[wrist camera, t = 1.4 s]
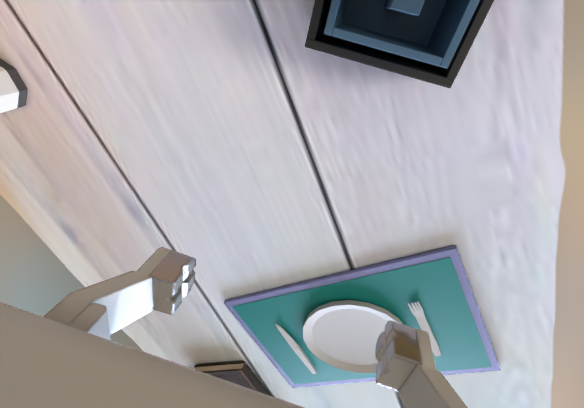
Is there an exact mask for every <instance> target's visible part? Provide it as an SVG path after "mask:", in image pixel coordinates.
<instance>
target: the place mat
mask: <svg viewBox="0 0 584 408" xmlns="http://www.w3.org/2000/svg"><path fill="white" fill-rule="evenodd" d="M224 304H225V305H226V306H227V307H228V309H229V310H230V311H231V312H232V314H233V315H234V316H235V317H236V319H237V320H238V321H239V322H240V323H241V325H242V326H243V327H244V328H245V330H246V331H247V332H248V333H249V335H250V336H251V337H252V338H253V340H254V341H255V342H256V343H257V345H258V346H259V347H260V348H261V349H262V351H263V352H264V353H265V354H266V356H267V357H268V358H269V359H270V361H271V362H272V363H273V364H274V366H275V367H276V368H277V369H278V371H279V372H280V373H281V374H282V375H283V377H284V378H285V379H286V380H287V382H288V383H289V384H290V385H291V387H292V388H296V387H308V386H320V385H332V384H344V383H355V382H367V381H376V366H377V364H378V360H377V359H376V357H375V350H376V343H377V340H378V337H379V335H380V333H382V332H385V325H386V323H387V322H388V321H389V320H391V321H394V322H397V323H400V324H404V325H407V326H410V327H413V328H417V329H420V330H423V331H426V332H428V334H429V337H430V342H431V346H432V351H433V356H434V361H435V366H436V370H437V371H440V372H441V373H442V375H450V374H462V373H474V372H486V371H498V370H500V367H499V364H498V361H497V359H496V356H495V353H494V350H493V348H492V345H491V342H490V339H489V337H488V334H487V331H486V328H485V326H484V323H483V320H482V317H481V314H480V312H479V309H478V306H477V303H476V301H475V298H474V295H473V292H472V290H471V287H470V284H469V281H468V279H467V276H466V273H465V270H464V268H463V265H462V262H461V259H460V257H459V254H458V251H457V248H456V246H450V247H446V248H442V249H438V250H434V251H429V252H425V253H421V254H417V255H413V256H409V257H404V258H400V259H396V260H392V261H388V262H384V263H379V264H375V265H371V266H367V267H363V268H358V269H354V270H350V271H346V272H342V273H338V274H333V275H329V276H325V277H321V278H317V279H313V280H308V281H304V282H300V283H296V284H292V285H287V286H283V287H279V288H275V289H271V290H267V291H262V292H258V293H254V294H250V295H246V296H241V297H237V298H233V299H229V300H225V302H224Z"/></svg>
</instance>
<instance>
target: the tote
mask: <svg viewBox="0 0 584 408" xmlns="http://www.w3.org/2000/svg"><path fill="white" fill-rule="evenodd" d="M493 1H494V0H480V1H479V3H478V5H477V7H476V9H475V12H474V14H473V16H472V18H471V20H470V22H469V24H468V26H467V28H466V30H465V33H464V35H463V37H462V39H461V41H460V43H459V45H458V47H457V49H456V52H455V54H454V56H453V58H452V60H451V62H450V64H449V66H448V68H447V69H446V68H443V67H440V66H436V65H432V64H429V63H425V62H422V61H418V60H415V59H411V58H407V57H404V56H400V55H397V54H393V53H390V52H386V51H383V50H379V49H376V48H372V47H369V46H365V45H362V44H358V43H355V42H351V41H347V40H344V39H340V38H337V37H333V36H332V35H331V36H330V35H326V34H324V30H325V26H326V22H327V18H328V14H329V10H330V6H331V2H332V0H315V4H314V8H313V13H312V17H311V22H310V26H309V30H308V35H307V39H306V44H305V47H307V48H311V49H314V50H318V51H321V52H325V53H328V54H332V55H335V56H339V57H342V58H346V59H349V60H353V61H356V62H360V63H363V64H367V65H370V66H374V67H377V68H381V69H384V70H387V71H391V72H394V73H398V74H401V75H405V76H408V77H412V78H415V79H419V80H422V81H426V82H429V83H433V84H436V85H440V86H443V87H447V88H451V86H452V84H453V82H454V79H455V78H456V76H457V74H458V72H459V70H460V68H461V66H462V64H463V62H464V60H465V58H466V56H467V54H468V52H469V50H470V48H471V45H472V43H473V41H474V39H475V37H476V35H477V33H478V31H479V29H480V27H481V25H482V23H483V21H484V19H485V17H486V15H487V13H488V11H489V9H490V7H491V5H492V3H493Z"/></svg>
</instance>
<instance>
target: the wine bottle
mask: <svg viewBox="0 0 584 408" xmlns="http://www.w3.org/2000/svg"><path fill="white" fill-rule="evenodd" d="M26 97H27V88H26V86H25V84H24V83H23V81H22V79H21V77H20V76H19V74H18V72H17V70H16V69H15V68H13V67H12V66H10V65H9V64H7V63H6V62H4V61H3V60H1V59H0V113H2V112H5V111H9V110H12V109H16V108H19V107H22V106H24V105H26Z"/></svg>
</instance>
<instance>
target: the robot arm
mask: <svg viewBox="0 0 584 408" xmlns="http://www.w3.org/2000/svg"><path fill="white" fill-rule="evenodd" d="M195 266H196V259H195V258H193V257H190V256H187V255H184V254H182V253H179V252H176V251H172V250H169V249H166V248H164V247H161V248H159V249H157V250H156V251H155V252H154V254H153V255H152V256H151V257H150V258H149V259H148V260H147V261H146V262H145V263H144V264H143V265H142V266H141V267H140V268H139V269H138V270H137V271H130V272H128V273H125V274H122V275H119V276H116V277H113V278H111V279H108V280H105V281H102V282H99V283H97V284H94V285H91V286H88V287H85V288H83V289H80V290H77V291H74V292H71V293H70V294H68V295H67V296H66V297H65V298H64V299H63V300H62V301H61V302H59V303H58V304H57V305H56V306H55V307H54V308H53V309H52V310H50V311H49V312H48V313H47V314H46V315H45V316H44V317H42V316H39V315H36V314H33V313H30V312H28V311H24V310H22V309H18V308H16V307H13V306H10V305H7V304H4V303H2V302H0V408H304V407H301V406H298V405H295V404H292V403H289V402H286V401H284V400H281V399H278V398H275V397H272V396H269V395H266V394H263V393H261V392H258V391H255V390H252V389H249V388H246V387H243V386H241V385H238V384H235V383H232V382H229V381H226V380H223V379H220V378H218V377H215V376H212V375H209V374H206V373H203V372H200V371H197V370H195V369H192V368H189V367H186V366H183V365H180V364H177V363H174V362H171V361H169V360H166V359H163V358H160V357H157V356H154V355H151V354H148V353H146V352H143V351H139V350H137V349H134V348H131V347H128V346H125V345H122V344H120V343H117V342H114V341H111V338H110V335H111V334H113V333H114V332H116V331H118V330H119V329H121V328H123V327H125V326H127V325H128V324H130V323H132V322H134V321H135V320H137V319H139V318H141V317H142V316H144V315H146V314H148V313H149V312H151V311H153V309H154V310H157V311H160V312H163V313H167V314H170V315H174V313H175V312H176V310H177V309H178V307H179V306H180V304H181V303H182V297H183V296H186V295H187V294H188V293H189V291H190V290H191V287H192V285H193V283H194V279H195V272H194V270H193V269H194V267H195ZM375 357H376V359H377V360H378V364H377V366H376V384H379V385H381V386H384V387H387V388H389V389H392V390H395V391H398V392H397V393H398V395H399V397H400V399H401V401H402V403H403V405H404V407H405V408H467V406H466V405H465V404H464V402H463V401H462V400H461V398H460V397H459V396H458V394H457V393H456V392H455V390H454V389H453V388H452V387H451V385H450V384H449V383H448V381H447V380H446V379H445V377H444V376H443V375H442V373H441V372H440V371H437V370H436V366H435V361H434V356H433V351H432V346H431V342H430V337H429V334H428V332H426V331H423V330H420V329H417V328H413V327H410V326H407V325H404V324H400V323H397V322H394V321H391V320H389V321H388V322H387V323H386V325H385V332H382V333H380V335H379V337H378V340H377V343H376V350H375Z"/></svg>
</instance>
